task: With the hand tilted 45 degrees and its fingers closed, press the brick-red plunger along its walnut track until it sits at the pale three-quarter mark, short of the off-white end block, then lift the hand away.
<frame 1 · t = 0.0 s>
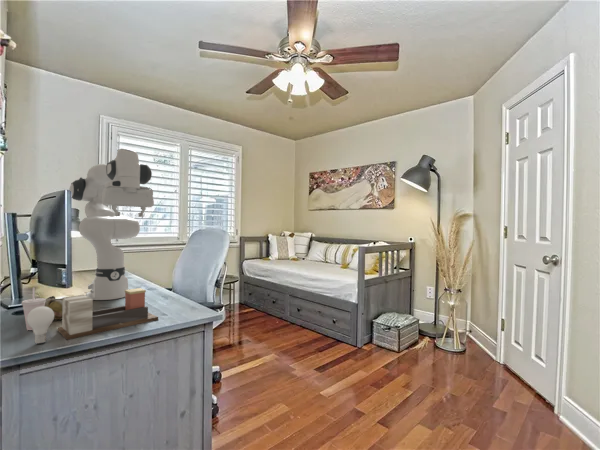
hand: (129, 216, 136), 39 cm above the table, fingers open, 8 cm apart
smoothie: (33, 329, 106), on the table
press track: (110, 324, 111), on the table
plunger: (135, 303, 117), point 6 cm above the table, slide at 0.0 cm
lightbulb: (40, 344, 93), on the table
ceramic sculpture: (53, 319, 118), on the table
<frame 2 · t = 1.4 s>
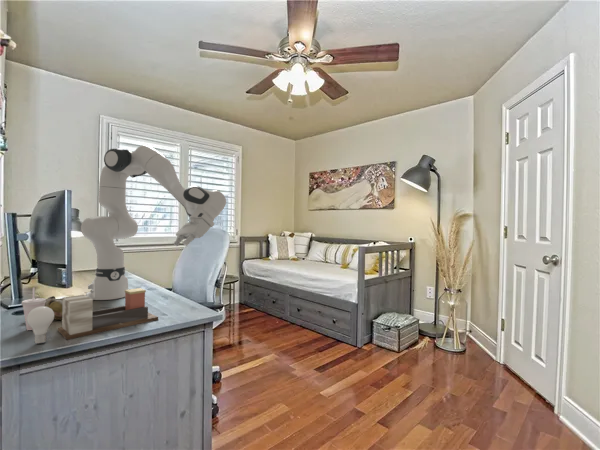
hand: (179, 244, 130), 27 cm above the table, fingers open, 8 cm apart
nothing on the table moved.
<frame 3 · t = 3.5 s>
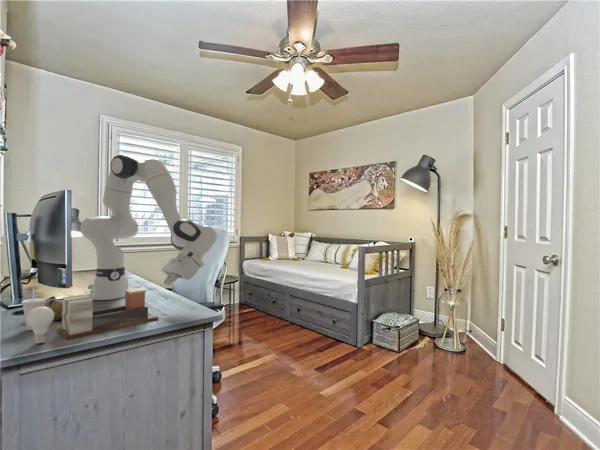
hand: (166, 284, 125), 12 cm above the table, fingers closed
nothing on the table moved.
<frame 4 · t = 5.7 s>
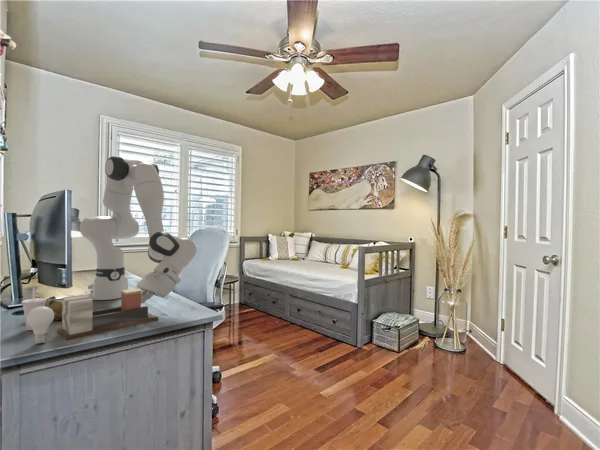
hand: (139, 302, 118), 6 cm above the table, fingers closed, pressing on plunger
plunger: (131, 303, 116), point 6 cm above the table, slide at 1.4 cm, touching gripper
everything else where it was.
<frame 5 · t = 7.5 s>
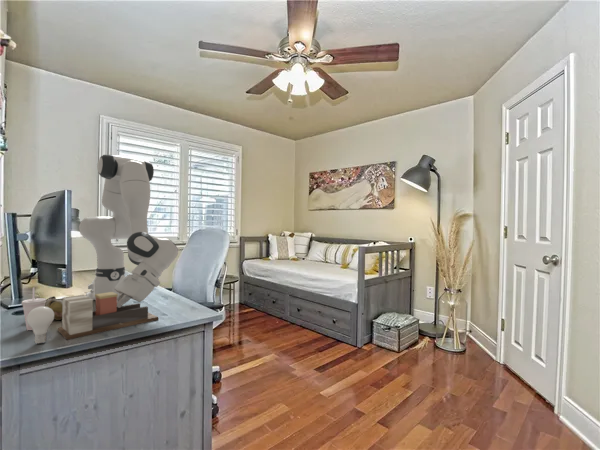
hand: (116, 306, 112), 6 cm above the table, fingers closed, pressing on plunger
plunger: (106, 308, 109), point 6 cm above the table, slide at 9.6 cm, touching gripper
everything else where it was.
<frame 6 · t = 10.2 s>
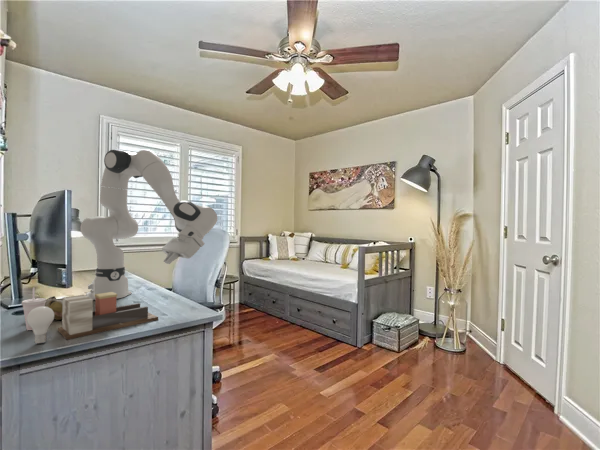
hand: (166, 262, 125), 20 cm above the table, fingers closed
plunger: (105, 308, 109), point 6 cm above the table, slide at 9.6 cm
everything else where it was.
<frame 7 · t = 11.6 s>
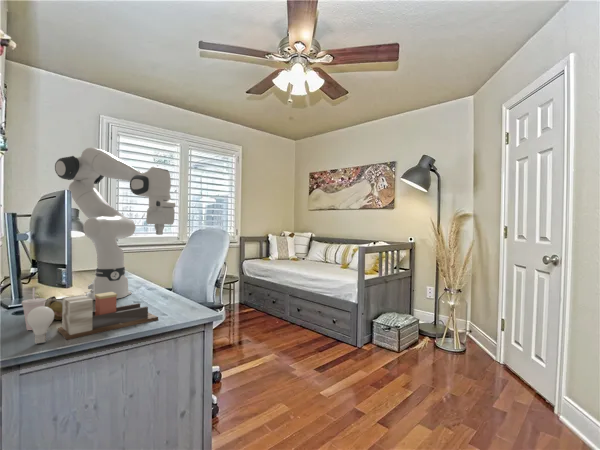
hand: (159, 234, 139), 31 cm above the table, fingers closed
nothing on the table moved.
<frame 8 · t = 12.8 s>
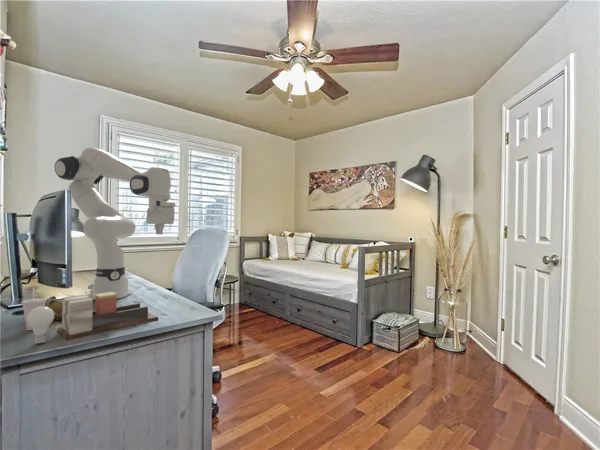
hand: (159, 234, 139), 31 cm above the table, fingers closed
nothing on the table moved.
at the end: plunger slide at 9.6 cm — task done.
